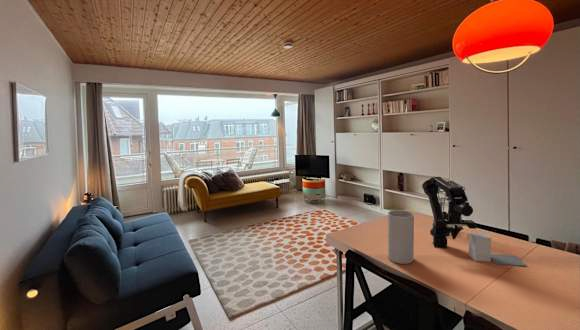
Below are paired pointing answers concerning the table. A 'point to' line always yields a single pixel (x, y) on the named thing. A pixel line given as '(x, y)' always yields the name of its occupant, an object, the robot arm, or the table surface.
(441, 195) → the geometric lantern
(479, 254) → the supplement box
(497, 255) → the mat
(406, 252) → the cylinder vase
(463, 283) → the table surface
